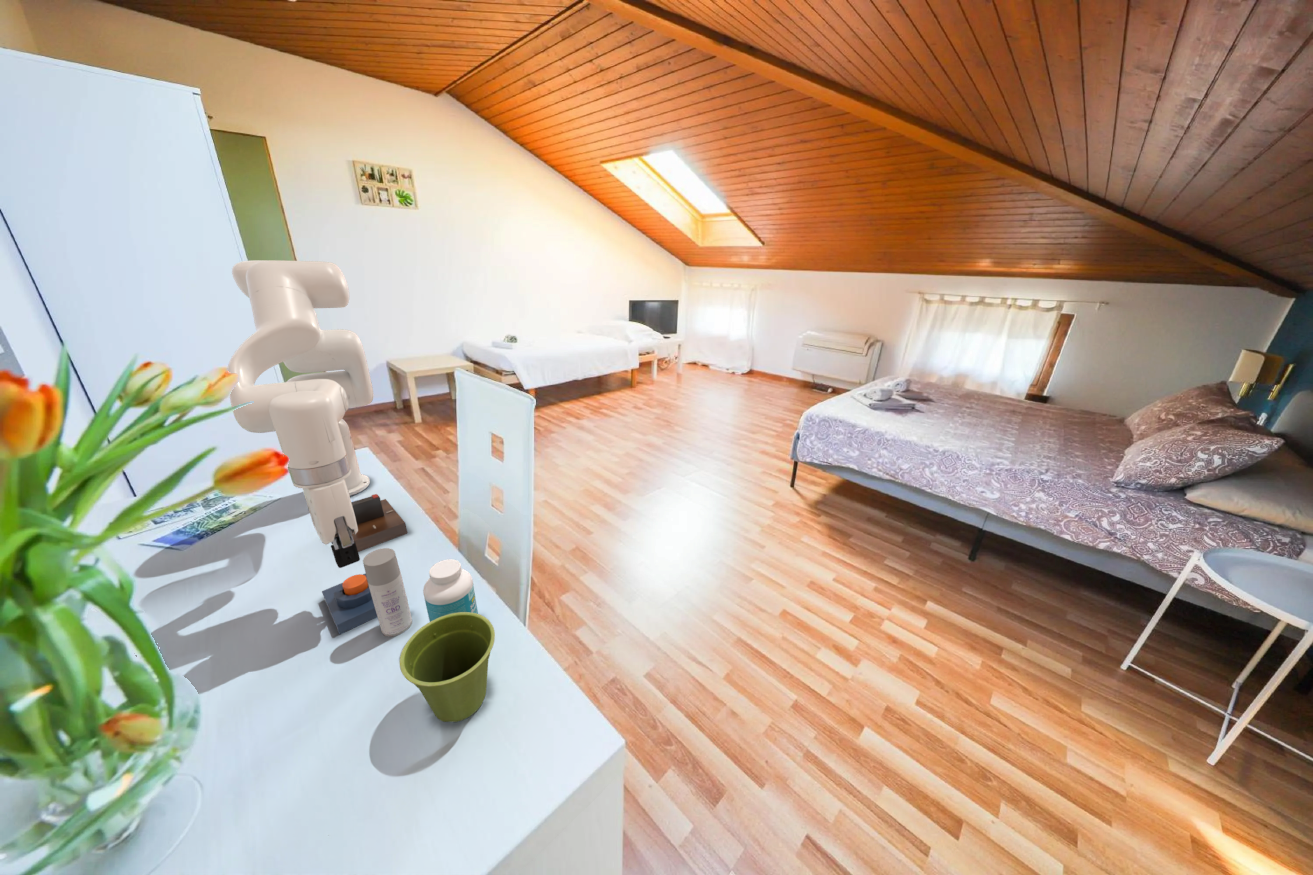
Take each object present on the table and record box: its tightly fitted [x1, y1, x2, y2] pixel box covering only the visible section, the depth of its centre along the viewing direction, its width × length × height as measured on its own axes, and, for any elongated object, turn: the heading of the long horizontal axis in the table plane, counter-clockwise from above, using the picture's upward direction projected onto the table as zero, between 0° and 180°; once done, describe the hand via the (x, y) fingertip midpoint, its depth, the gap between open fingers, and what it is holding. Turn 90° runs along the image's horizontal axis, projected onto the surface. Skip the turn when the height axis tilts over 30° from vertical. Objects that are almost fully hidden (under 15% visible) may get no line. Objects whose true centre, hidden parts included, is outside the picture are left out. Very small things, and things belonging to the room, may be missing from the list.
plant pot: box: [399, 612, 496, 723], centre depth 61 cm, size 12×12×11 cm
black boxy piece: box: [351, 493, 384, 524], centre depth 97 cm, size 6×2×5 cm, turn 135°
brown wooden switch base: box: [352, 498, 408, 553], centre depth 99 cm, size 14×11×3 cm
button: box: [342, 573, 368, 596], centre depth 77 cm, size 4×4×2 cm
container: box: [362, 547, 413, 638], centre depth 72 cm, size 5×5×15 cm
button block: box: [321, 572, 378, 635], centre depth 78 cm, size 11×9×4 cm
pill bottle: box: [422, 558, 479, 622], centre depth 72 cm, size 8×7×14 cm
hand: (348, 562), depth 75 cm, fingers closed
